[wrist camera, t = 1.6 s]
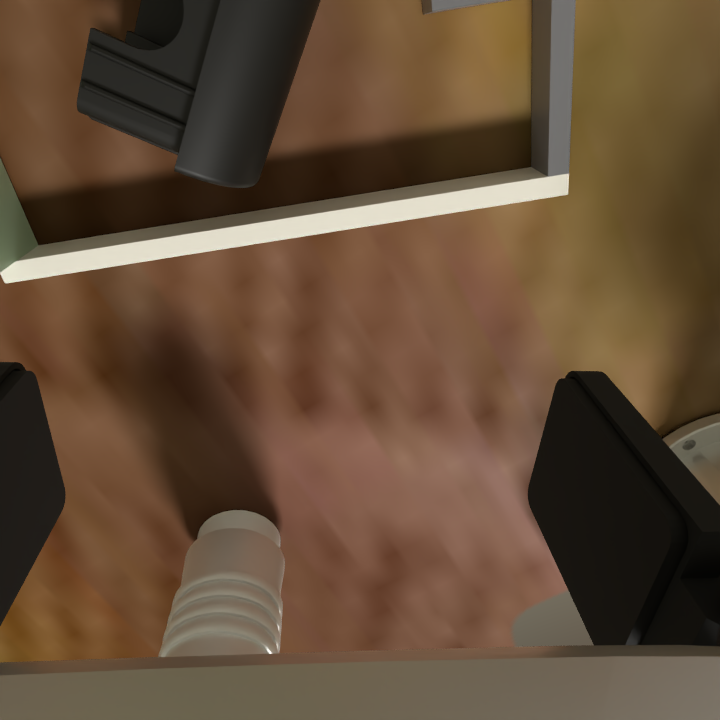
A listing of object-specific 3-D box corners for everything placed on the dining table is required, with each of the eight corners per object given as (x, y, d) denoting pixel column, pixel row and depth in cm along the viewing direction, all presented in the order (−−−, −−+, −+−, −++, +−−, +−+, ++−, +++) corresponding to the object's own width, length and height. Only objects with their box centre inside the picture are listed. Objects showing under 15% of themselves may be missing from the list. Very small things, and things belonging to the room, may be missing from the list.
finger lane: (561, -310, 21) (641, -427, 16) (549, 183, 30) (598, 213, 25) (-176, -183, 21) (-336, -257, 16) (28, 266, 30) (-34, 312, 25)
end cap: (263, 170, 29) (249, 203, 23) (121, 110, 27) (65, 128, 21) (339, -50, 24) (345, -81, 19) (176, -139, 23) (126, -203, 17)
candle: (231, 586, 43) (192, 822, 30) (170, 532, 40) (97, 768, 27) (306, 549, 42) (300, 780, 29) (249, 489, 39) (212, 717, 26)
